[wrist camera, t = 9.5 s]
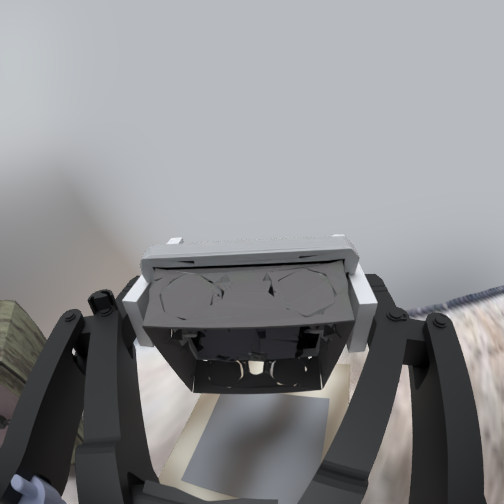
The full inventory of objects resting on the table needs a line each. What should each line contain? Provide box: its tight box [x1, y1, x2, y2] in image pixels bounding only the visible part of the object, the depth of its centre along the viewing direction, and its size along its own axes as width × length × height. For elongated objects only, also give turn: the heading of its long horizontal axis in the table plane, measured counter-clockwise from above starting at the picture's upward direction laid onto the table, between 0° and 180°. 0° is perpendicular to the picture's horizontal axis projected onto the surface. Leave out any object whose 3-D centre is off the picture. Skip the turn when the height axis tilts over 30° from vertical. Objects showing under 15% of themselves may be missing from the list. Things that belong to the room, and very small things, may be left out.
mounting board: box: [158, 360, 350, 504], centre depth 20 cm, size 15×22×2 cm
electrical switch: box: [140, 236, 359, 394], centre depth 13 cm, size 9×5×9 cm, turn 89°
